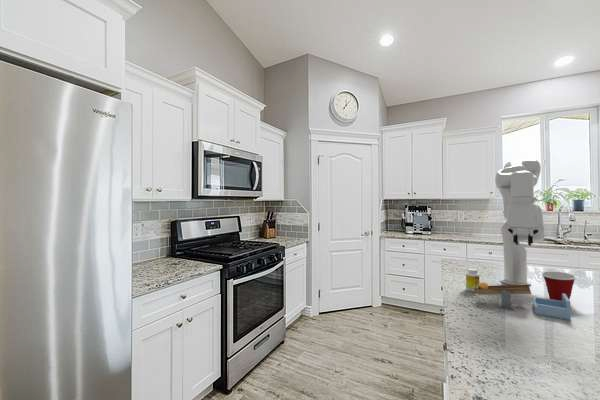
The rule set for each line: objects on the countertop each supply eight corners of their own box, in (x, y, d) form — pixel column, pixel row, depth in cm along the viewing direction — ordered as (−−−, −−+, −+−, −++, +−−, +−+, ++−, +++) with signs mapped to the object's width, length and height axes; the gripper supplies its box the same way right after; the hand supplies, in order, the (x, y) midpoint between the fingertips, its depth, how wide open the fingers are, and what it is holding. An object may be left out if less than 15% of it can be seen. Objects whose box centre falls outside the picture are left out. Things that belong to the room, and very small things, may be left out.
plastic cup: (536, 299, 120) (535, 272, 120) (551, 296, 124) (550, 269, 124) (567, 308, 110) (566, 278, 110) (582, 304, 114) (582, 275, 114)
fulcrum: (499, 300, 120) (498, 284, 120) (513, 302, 117) (513, 286, 117) (498, 308, 112) (498, 290, 112) (514, 310, 109) (513, 292, 109)
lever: (480, 287, 127) (478, 281, 128) (529, 286, 117) (527, 278, 117) (477, 295, 117) (476, 288, 118) (531, 294, 107) (529, 286, 107)
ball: (480, 289, 121) (477, 281, 122) (489, 288, 119) (487, 280, 120) (480, 291, 118) (477, 283, 119) (489, 291, 116) (486, 282, 117)
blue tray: (532, 306, 113) (531, 289, 113) (565, 311, 107) (565, 293, 107) (534, 314, 105) (534, 296, 105) (570, 320, 99) (570, 301, 99)
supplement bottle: (476, 293, 130) (475, 271, 130) (464, 289, 135) (463, 269, 135) (481, 290, 133) (481, 269, 133) (469, 287, 138) (469, 267, 138)
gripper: (547, 200, 113) (548, 245, 113) (497, 201, 123) (498, 242, 123) (549, 200, 107) (550, 247, 107) (497, 201, 117) (498, 244, 117)
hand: (522, 244), depth 115 cm, fingers open, 3 cm apart
